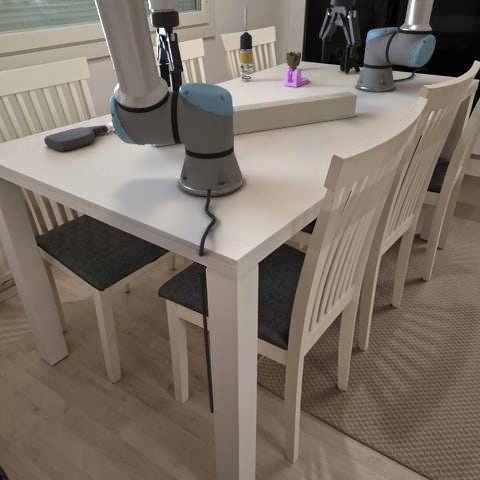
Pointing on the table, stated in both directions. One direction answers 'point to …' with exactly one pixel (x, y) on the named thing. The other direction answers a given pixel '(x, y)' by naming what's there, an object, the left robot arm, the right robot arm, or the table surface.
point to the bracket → (297, 78)
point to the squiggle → (342, 58)
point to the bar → (292, 112)
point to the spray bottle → (75, 137)
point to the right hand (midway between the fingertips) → (336, 65)
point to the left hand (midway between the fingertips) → (172, 92)
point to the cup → (293, 60)
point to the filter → (246, 48)
